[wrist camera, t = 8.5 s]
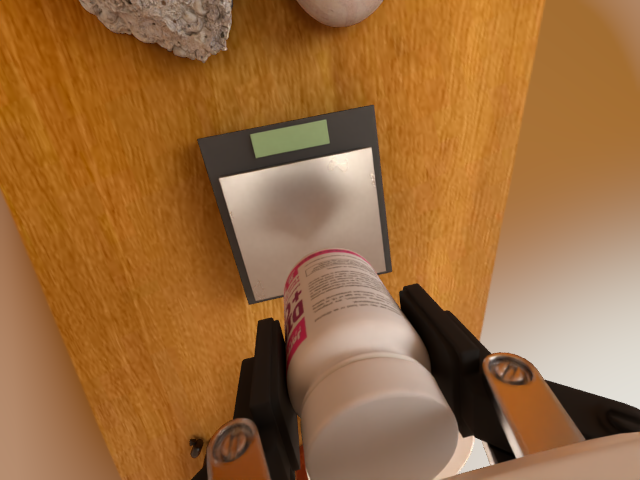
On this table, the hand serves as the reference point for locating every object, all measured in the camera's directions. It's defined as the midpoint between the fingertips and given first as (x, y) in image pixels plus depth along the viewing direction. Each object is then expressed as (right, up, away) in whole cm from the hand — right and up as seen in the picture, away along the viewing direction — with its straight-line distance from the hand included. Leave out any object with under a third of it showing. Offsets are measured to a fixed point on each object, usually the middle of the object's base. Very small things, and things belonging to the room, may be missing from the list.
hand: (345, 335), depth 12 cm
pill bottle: (-1, +1, +4) cm, 4 cm away
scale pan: (-2, +5, +14) cm, 15 cm away
